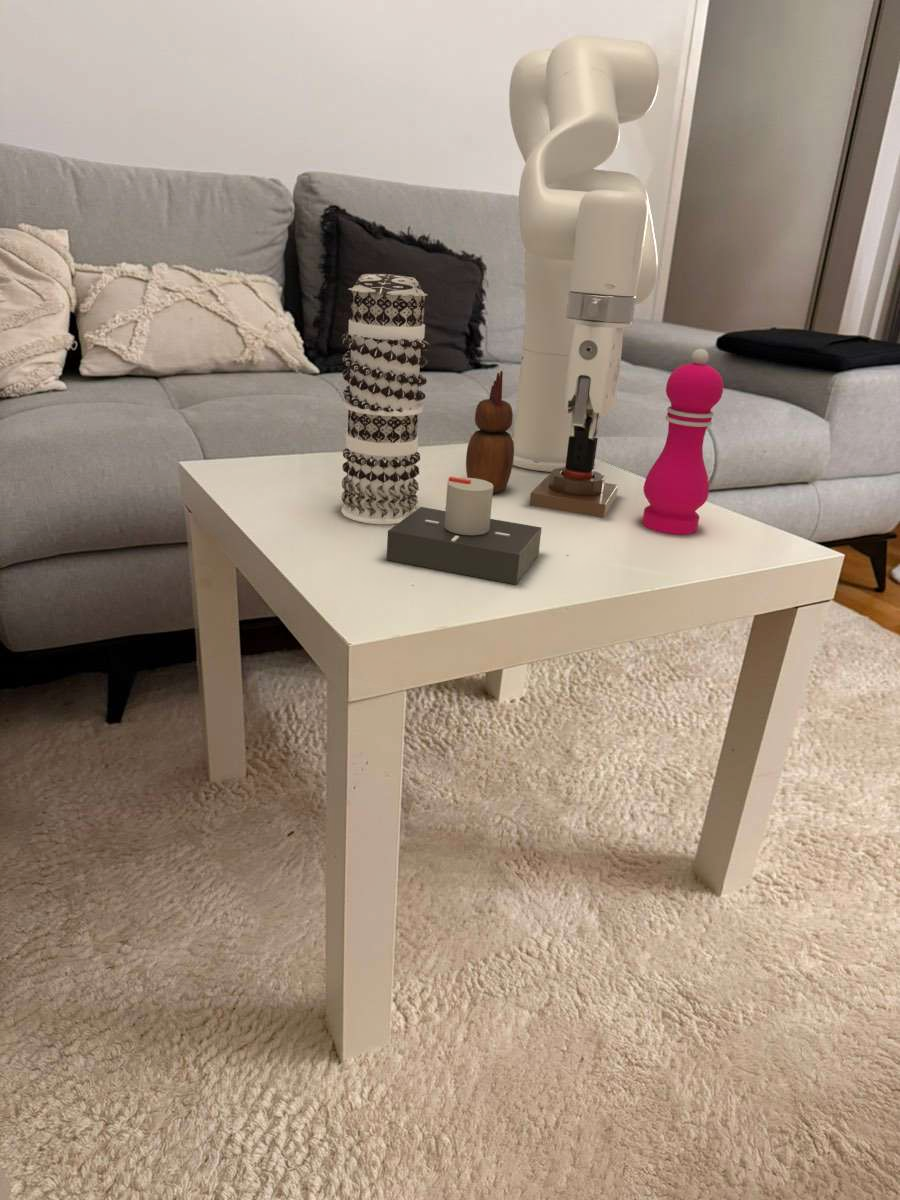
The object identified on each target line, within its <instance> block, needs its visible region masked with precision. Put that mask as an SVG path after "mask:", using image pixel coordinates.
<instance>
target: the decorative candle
mask: <svg viewBox="0 0 900 1200" xmlns="http://www.w3.org/2000/svg"><path fill="white" fill-rule="evenodd" d="M348 290H349V291H351V293H350V295H351V296H350V297H351V298H350V299H351V300H350V319H349V320H348V331H346V332H345V333H344V334H343V335H342V336H341V340H342V341H341V343H342V344H343V345H345V346H346V347H347V348H348V349H349V350H348V351H346V352H345V353H344V355H342V358H341V359H342V362H343V364H344V366H345V367H346V368H345V369H343V371H342V379H343V380H344V381H345V382H347V384H348V385H347V386H346V387H345V389H344V390H343V392H342V394H343V398H344V400H345V401H344V402H343V407H344V408H346V410H347V431H346V433H345V448H344V449H343V450H342V457H343V458H344V459H345V460H347V461H345V462H344V463H342V471H343V472H344V473H346V475H344V476H343V478H342V479H341V487H342V489H343V491H342V493H341V501H342V503H343V505H342V507H341V510H340V511H341V513H342V515H343V516H344V517H345V518H348V519H351V520H353V521H355V522H360V523H364V524H372V525H393V524H398V523H399V522H401V521H402V520H403V519H405V518H406V517H408V516H409V515H410V514H412V513H413V512H414V511H416V510H417V509H416V506H417V505H418V503H419V501H418V496H417V492H418V491H419V489H420V487H419V482H418V480H416V477H417V476H418V475H419V474H420V468H419V466H418V465H416V464H417V463H419V462H420V460H421V454H420V452H419V451H418V449H419V436H418V423H419V419H418V418H419V414H421V413H423V408H424V406H423V405H422V404H421V403H420V402H421V401H423V400H425V399H426V393H424V392H423V391H422V390H421V389H419V388H422V387H423V386H425V385H426V384H427V382H428V380H427V379H426V377H424V376H423V375H422V373H420V370H421V369H423V368H424V367H425V366H428V365H429V364H430V360H429V359H428V358H427V357H426V356H425V355H423V353H425V352H427V351H429V350H430V349H431V344H430V343H429V342H427V340H426V339H425V335H426V333H425V332H426V324H425V323H424V315H425V300H426V297H427V296H428V294H427V293H425V291H423V290H422V288H421V286H420V283H419V281H418V280H417V279H416V278H415V277H413V276H407V275H398V274H386V273H363V274H361V275H360V276H359V277H358V278H357V281H356V282H355V284H354V285H353V287H349V288H348ZM420 368H421V369H420Z"/></svg>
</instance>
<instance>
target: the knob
mask: <svg viewBox="0 0 900 1200" xmlns="http://www.w3.org/2000/svg"><path fill="white" fill-rule="evenodd" d="M446 485H447V486H446V497H445V499H446V500H445V510H444V511H445V525H444V527H445V529H446V530H448V531H450V532H452V533H456V534H460V535H470V536H474V535H482V534H485V533H487V532H488V531H489V528H490V519H491V517H492V506H493V496H494V495H493V494H494V493H493V484H492V483H490V482H488V481H485V480H481V479H475V478H467V477H456V476H449V477H448V481H447V483H446Z"/></svg>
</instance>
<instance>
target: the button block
mask: <svg viewBox="0 0 900 1200" xmlns="http://www.w3.org/2000/svg"><path fill="white" fill-rule="evenodd" d="M563 470H564V467H563V468H557V469H553V470H552V471H551V472H549V473H550V474H548V475H547V476H546V477H545V478H544V479H543V480H542V481H541V482H540V483H539V484H538V485H537V486H536V487H535V488H534V489H533V490H532V491H531V492H530V498H529V499H530V500H529V506H530V507H534V508H542V509H548V510H553V511H559V512H566V513H572V514H579V515H584V516H589V517H596V518H602V519H604V518H605V516H607V513H608V512H609V510H610V509H611V506H612V505H613V504H614V502H615V500H616V498H617V496H618V488H619V485H618V484H614V483H608V482H606V476H605V475H604V474H602V473H601V472H598V471H595V470H593V477H592V478H591V479H576V478H570V477H567V476H564V475H563Z"/></svg>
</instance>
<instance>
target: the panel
mask: <svg viewBox="0 0 900 1200" xmlns="http://www.w3.org/2000/svg"><path fill="white" fill-rule="evenodd" d="M445 511H446V510H441V509H436V508H432V507H431V508H430V507H425V506H420V507H418V508H417V509H416V511H414V512H413V513H412V514H410V515H409V516H408V517H406V518H405V519H403V520H402V521H401V522H399V523H396V524H395V525H394V526H392V527H391V528H390V529H388V530H387V541H386V561H389V562H396V563H401V564H406V565H410V566H417V567H421V568H428V569H432V570H437V571H442V572H447V573H454V574H457V575H464V576H470V577H474V578H479V579H483V580H484V579H485V580H490V581H495V582H501V583H506V584H510V585H517V584H518V583H519V581H520V580H521V579H522V577H524V575H525V574H526V572H527V571H528V570H529V568H530V567H531V565H532V564H533V563H534V562H535V560H536V559H537V558H538V556H539V553H540V546H541V537H542V527H540V526H537V525H536V526H535V525H530V524H523V523H517V522H511V521H507V520H500V519H494V518H490V528H489V531H488V532H487V533H485V534H482V535H474V536H470V535H460V534H456V533H452V532H450V531H448V530H446V529H445V527H444V525H445Z"/></svg>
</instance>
